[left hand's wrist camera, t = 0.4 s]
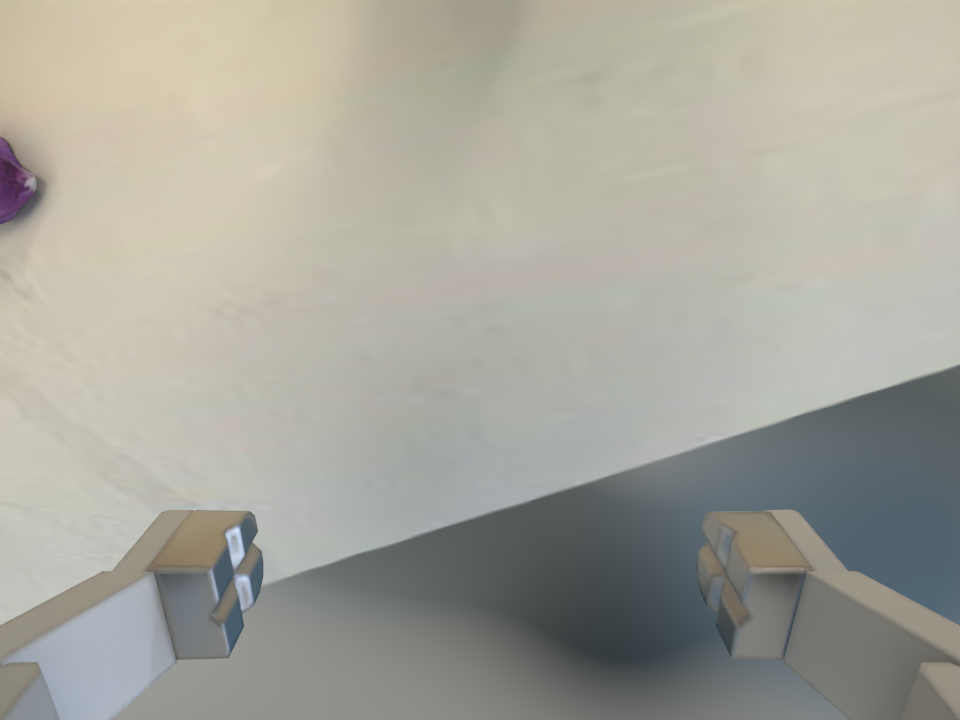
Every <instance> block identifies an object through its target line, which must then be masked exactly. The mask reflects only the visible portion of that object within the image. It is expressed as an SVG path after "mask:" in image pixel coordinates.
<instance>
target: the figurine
mask: <svg viewBox="0 0 960 720" xmlns="http://www.w3.org/2000/svg"><path fill="white" fill-rule="evenodd" d="M36 187H37V180H36V177H35V176H34V174H33V173H32V172H30V171H27V170H26V169H24V168H23V167H21V165H20V164H19V163H18V161H17V160H16V157H15V156H14V155H13V153H12V151H11V150H10V148H9V145H8V144H7V142H6V141H5V140H4V139H3V138H1V137H0V224H3V223H5V222H8V221H11V220H12V219H13V218H14V217H15V215H16V214H17V212H18V209H20V208H21V207H22V206H23V205H24V204H25V203H26V202H27V201H28V200H29V198H30V197H31V196H32V195H33V194H34V192H35V191H36Z"/></svg>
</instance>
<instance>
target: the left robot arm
mask: <svg viewBox="0 0 960 720" xmlns="http://www.w3.org/2000/svg"><path fill="white" fill-rule="evenodd" d="M257 532H258V529H257V524H256V519H255V515H254V514H252V513H251V512H250V511H212V510H196V511H193V510H168V511H165V512H162V513H161V514H160V515H159V516H158V517H157V518H156V519H155V521H154V522H153V523H152V524H151V525H150V526H149V528H148V529H147V530H146V531H145V532H144V534H143V535H142V536H141V537H140V538H139V540H138V541H137V542H136V543H135V544H134V546H133V547H132V548H131V549H130V550H129V551H128V553H127V554H126V555H125V556H124V557H123V559H122V560H121V561H120V562H119V563H118V565H117V566H116V567H115V568H114V569H113V570H112V571H103V572H101V573H99V574H97V575H95V576H93V577H91V578H89V579H87V580H86V581H84V582H82V583H80V584H78V585H76V586H74V587H72V588H70V589H69V590H67V591H65V592H63V593H61V594H59V595H57V596H55V597H53V598H52V599H50V600H48V601H46V602H44V603H42V604H40V605H38V606H36V607H34V608H33V609H31V610H29V611H27V612H25V613H23V614H21V615H19V616H17V617H16V618H14V619H12V620H10V621H8V622H6V623H4V624H2V625H0V720H111V719H112V718H113V717H114V716H116V715H117V714H118V713H119V712H120V711H121V710H123V709H124V708H125V707H126V706H127V705H128V704H129V703H131V702H132V701H133V700H134V699H135V698H136V697H138V696H139V695H140V694H141V693H142V692H143V691H144V690H146V689H147V688H148V687H149V686H150V685H151V684H152V683H154V682H155V681H156V680H157V679H158V678H159V677H161V676H162V675H163V674H164V673H165V672H166V671H167V670H169V669H170V668H171V667H172V666H173V665H174V664H175V663H176V660H184V659H218V658H229V656H230V654H231V652H232V650H233V648H234V646H235V644H236V642H237V639H238V638H239V635H240V633H241V631H242V629H243V627H244V623H243V618H242V614H243V613H244V612H246V611H247V610H248V609H250V608H251V607H253V606H254V604H255V602H256V599H257V597H258V595H259V593H260V588H261V584H262V579H263V558H262V552H261V550H260V549H259V548H258V547H257V546H256V545H255V544H254V543H253V542H252V541H253V539H254V537H255V535H256V534H257ZM702 532H703V534H704V535H705V537H706V539H707V541H708V542H707V543H706V544H705V545H704V546H703V547H702V548H701V549H700V550H699V552H698V559H697V578H698V585H699V588H700V592H701V595H702V597H703V600H704V602H705V604H706V606H708V607H709V608H710V609H712V610H713V611H714V612H716V613H717V614H718V618H717V623H716V627H717V629H718V631H719V633H720V635H721V637H722V640H723V642H724V644H725V646H726V648H727V650H728V652H729V654H730V656H731V658H740V659H776V660H784V661H783V662H784V663H785V664H786V665H787V666H788V667H789V668H791V669H792V670H793V671H794V672H795V673H796V674H797V675H799V676H800V677H801V678H802V679H803V680H804V681H805V682H807V683H808V684H809V685H810V686H811V687H812V688H814V689H815V690H816V691H817V692H818V693H819V694H820V695H822V696H823V697H824V698H825V699H826V700H827V701H828V702H830V703H831V704H832V705H833V706H834V707H835V708H837V709H838V710H839V711H840V712H841V713H842V714H843V715H845V716H846V717H847V718H848V719H849V720H960V626H959V625H957V624H955V623H954V622H952V621H950V620H948V619H946V618H944V617H942V616H940V615H938V614H937V613H935V612H933V611H931V610H929V609H927V608H925V607H923V606H922V605H920V604H918V603H916V602H914V601H912V600H910V599H908V598H906V597H905V596H903V595H901V594H899V593H897V592H895V591H893V590H891V589H889V588H888V587H886V586H884V585H882V584H880V583H878V582H876V581H874V580H873V579H871V578H869V577H867V576H865V575H863V574H861V573H859V572H857V571H847V569H846V568H845V567H844V566H843V565H842V563H841V562H840V561H839V560H838V559H837V558H836V556H835V555H834V554H833V553H832V552H831V550H830V549H829V548H828V547H827V546H826V544H825V543H824V542H823V541H822V540H821V538H820V537H819V536H818V535H817V534H816V533H815V531H814V530H813V529H812V528H811V527H810V525H809V524H808V523H807V522H806V521H805V519H804V518H803V517H802V516H801V515H800V514H799V513H798V512H796V511H794V510H767V511H757V512H708V513H707V515H706V517H705V519H704V523H703V528H702Z"/></svg>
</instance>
